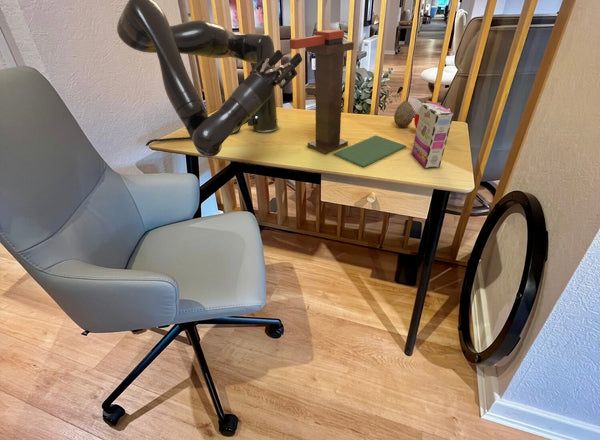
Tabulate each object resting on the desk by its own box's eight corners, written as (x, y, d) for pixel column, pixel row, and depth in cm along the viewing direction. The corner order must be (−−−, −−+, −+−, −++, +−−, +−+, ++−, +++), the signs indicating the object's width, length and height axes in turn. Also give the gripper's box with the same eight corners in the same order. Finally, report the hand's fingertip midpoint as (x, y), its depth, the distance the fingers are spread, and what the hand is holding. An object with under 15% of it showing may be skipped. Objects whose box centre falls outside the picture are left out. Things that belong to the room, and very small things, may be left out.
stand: (325, 154, 104) (326, 46, 85) (307, 146, 109) (305, 43, 90) (347, 145, 109) (353, 41, 90) (329, 138, 115) (332, 39, 96)
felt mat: (363, 167, 95) (363, 165, 95) (333, 154, 104) (333, 153, 103) (405, 147, 106) (406, 145, 106) (375, 136, 115) (375, 135, 114)
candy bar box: (440, 167, 93) (455, 113, 84) (424, 169, 93) (437, 114, 83) (425, 152, 102) (436, 101, 93) (410, 153, 102) (420, 102, 92)
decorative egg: (389, 127, 121) (393, 101, 115) (397, 122, 126) (401, 97, 120) (407, 131, 118) (412, 104, 112) (414, 125, 122) (419, 99, 116)
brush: (299, 50, 82) (298, 36, 80) (286, 48, 85) (285, 35, 83) (343, 42, 90) (344, 30, 88) (330, 41, 94) (330, 29, 92)
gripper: (258, 89, 74) (301, 43, 76) (228, 80, 83) (268, 39, 85) (273, 112, 80) (313, 69, 82) (244, 101, 89) (280, 63, 91)
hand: (290, 54), depth 84 cm, fingers open, 8 cm apart
